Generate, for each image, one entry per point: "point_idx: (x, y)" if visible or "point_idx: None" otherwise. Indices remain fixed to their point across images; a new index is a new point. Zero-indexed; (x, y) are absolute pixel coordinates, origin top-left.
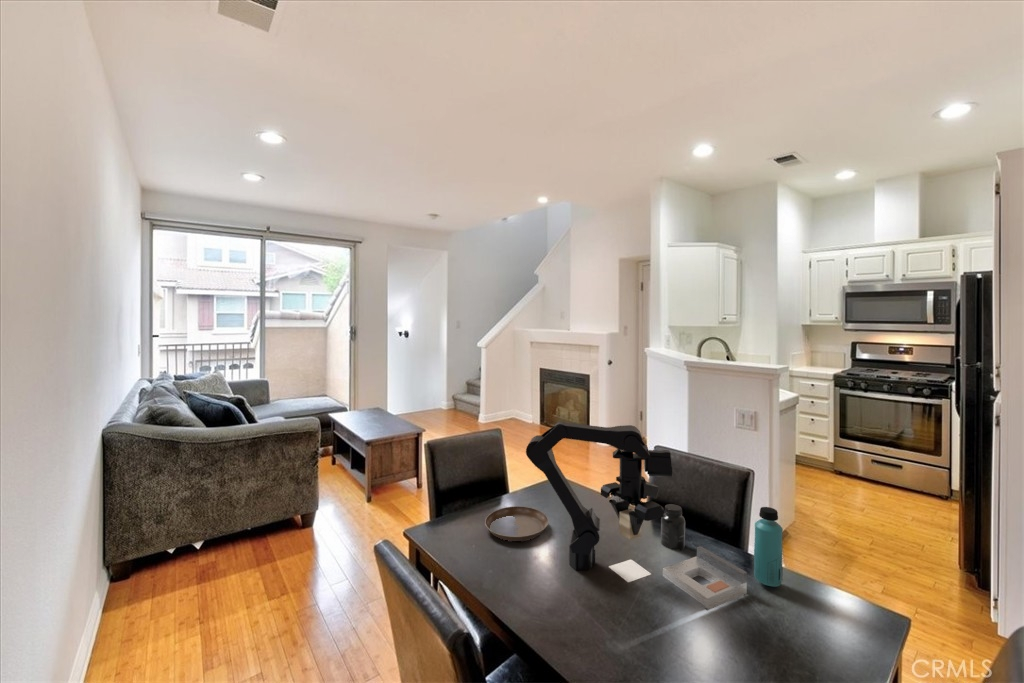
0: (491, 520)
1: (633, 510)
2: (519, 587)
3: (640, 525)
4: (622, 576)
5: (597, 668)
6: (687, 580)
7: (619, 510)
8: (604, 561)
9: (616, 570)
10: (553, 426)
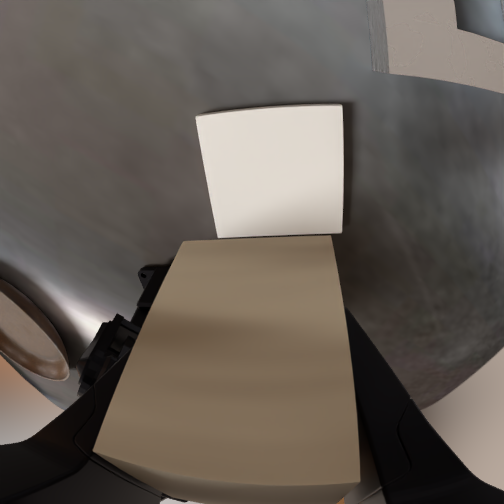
0: (11, 346)
1: (161, 473)
2: None
3: (397, 391)
4: (300, 229)
5: (455, 382)
6: (500, 69)
7: (149, 492)
8: (165, 214)
9: (253, 225)
10: None
